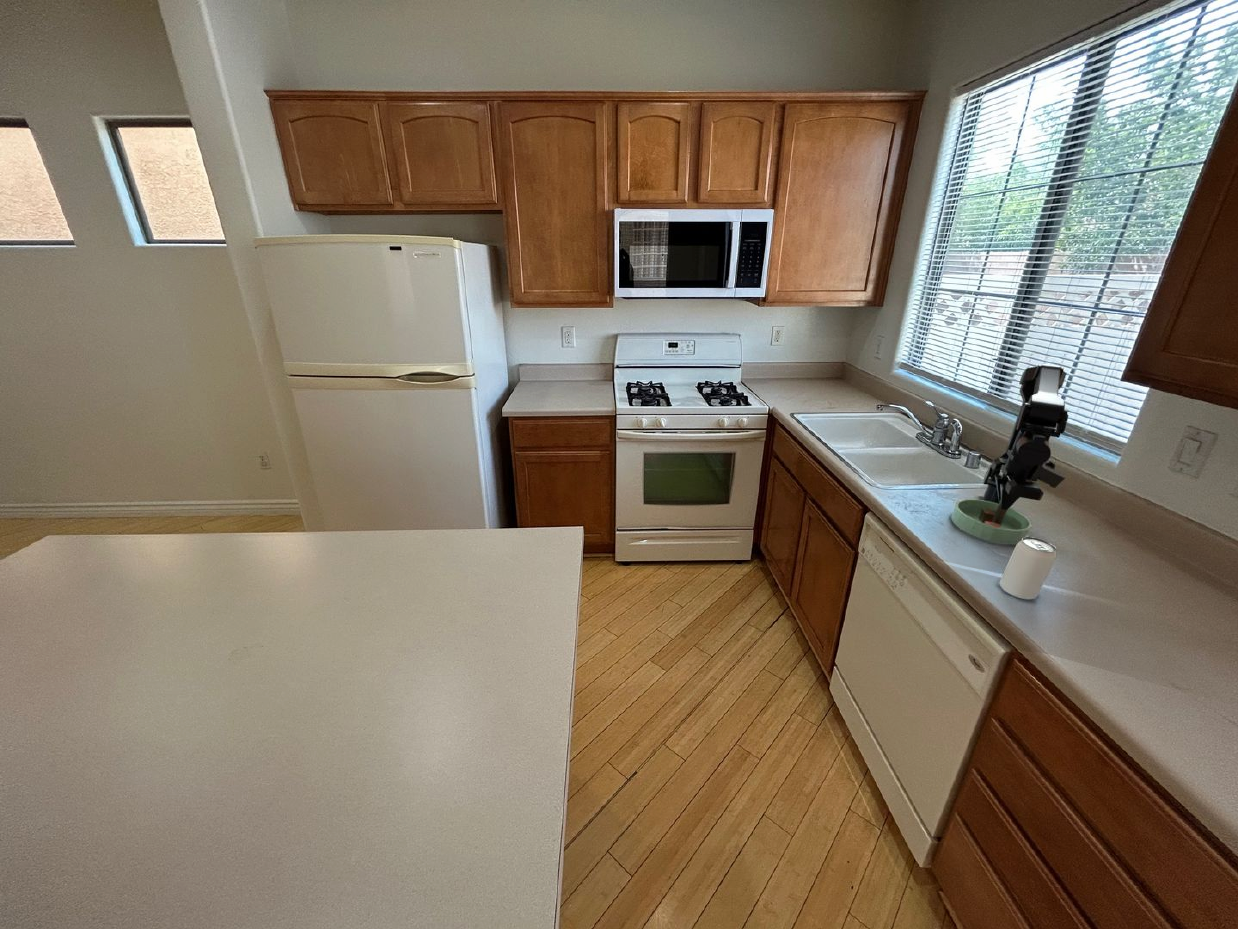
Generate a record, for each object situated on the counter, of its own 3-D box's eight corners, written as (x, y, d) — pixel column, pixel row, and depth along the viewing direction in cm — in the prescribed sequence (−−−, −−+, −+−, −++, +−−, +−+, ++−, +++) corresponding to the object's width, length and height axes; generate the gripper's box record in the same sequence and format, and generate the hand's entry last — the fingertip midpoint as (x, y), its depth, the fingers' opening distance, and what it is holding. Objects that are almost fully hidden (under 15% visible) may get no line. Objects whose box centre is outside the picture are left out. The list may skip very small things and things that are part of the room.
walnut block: (978, 517, 129) (982, 508, 128) (992, 520, 128) (995, 510, 127) (981, 522, 127) (985, 513, 126) (994, 525, 126) (998, 515, 125)
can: (1022, 582, 105) (1044, 536, 100) (1043, 602, 99) (1068, 554, 94) (991, 580, 105) (1012, 534, 100) (1010, 599, 99) (1033, 552, 94)
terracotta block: (981, 530, 123) (985, 520, 122) (995, 533, 122) (999, 523, 121) (982, 536, 121) (986, 526, 120) (997, 539, 120) (1001, 529, 118)
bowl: (946, 508, 135) (951, 494, 133) (1014, 521, 129) (1021, 507, 127) (956, 535, 122) (962, 520, 120) (1033, 552, 116) (1041, 537, 114)
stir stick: (988, 524, 125) (1005, 484, 120) (998, 526, 124) (1015, 486, 119) (990, 528, 123) (1007, 487, 118) (1000, 530, 122) (1017, 489, 117)
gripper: (1084, 473, 104) (1055, 533, 110) (1054, 444, 119) (1030, 499, 126) (1022, 463, 108) (997, 522, 114) (1001, 436, 123) (980, 489, 130)
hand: (1003, 507), depth 121 cm, fingers closed on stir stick, 2 cm apart
